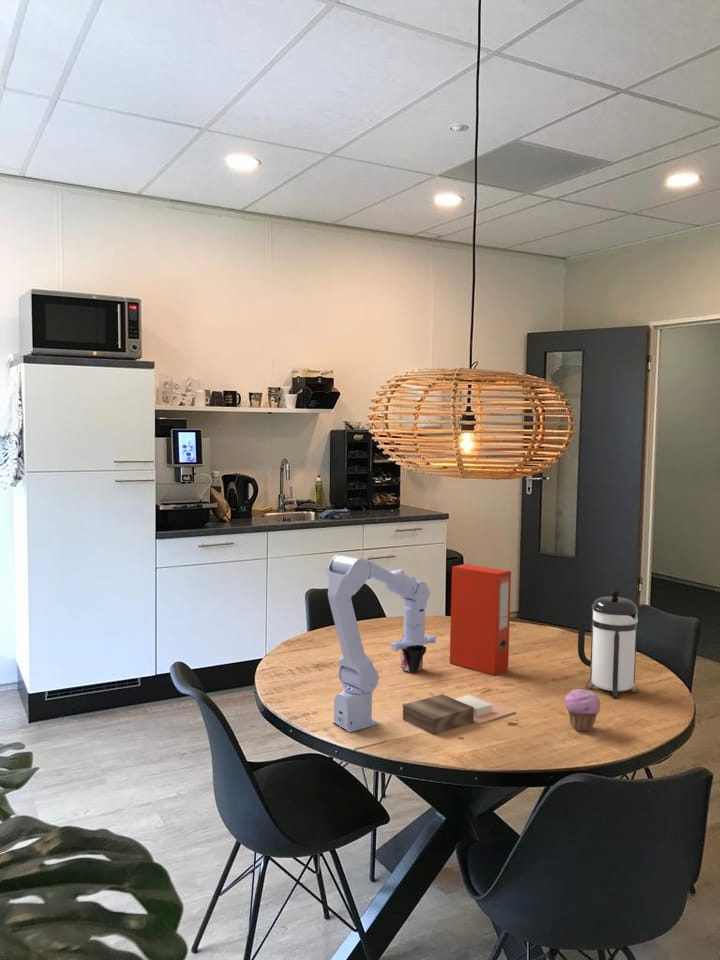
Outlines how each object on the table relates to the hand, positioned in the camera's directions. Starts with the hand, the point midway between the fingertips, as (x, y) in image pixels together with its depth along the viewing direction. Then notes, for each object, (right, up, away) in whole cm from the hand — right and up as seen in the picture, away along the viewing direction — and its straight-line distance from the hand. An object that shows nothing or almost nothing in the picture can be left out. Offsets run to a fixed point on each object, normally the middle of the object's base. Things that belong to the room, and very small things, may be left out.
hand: (413, 672), depth 208 cm
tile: (+16, -7, -3) cm, 18 cm away
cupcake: (+42, -11, -14) cm, 46 cm away
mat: (+17, -10, -2) cm, 20 cm away
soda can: (+2, -8, +31) cm, 32 cm away
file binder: (+24, -8, +35) cm, 43 cm away
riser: (+6, -10, -11) cm, 16 cm away
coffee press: (+59, -9, +16) cm, 61 cm away
